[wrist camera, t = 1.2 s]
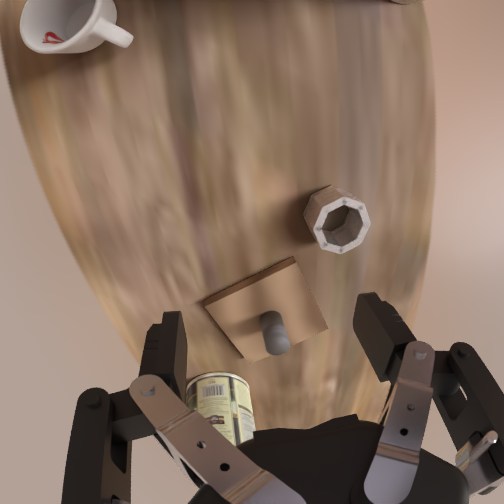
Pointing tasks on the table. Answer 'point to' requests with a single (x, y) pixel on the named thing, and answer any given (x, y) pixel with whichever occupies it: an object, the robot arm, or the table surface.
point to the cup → (70, 25)
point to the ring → (344, 234)
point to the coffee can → (223, 404)
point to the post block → (267, 311)
